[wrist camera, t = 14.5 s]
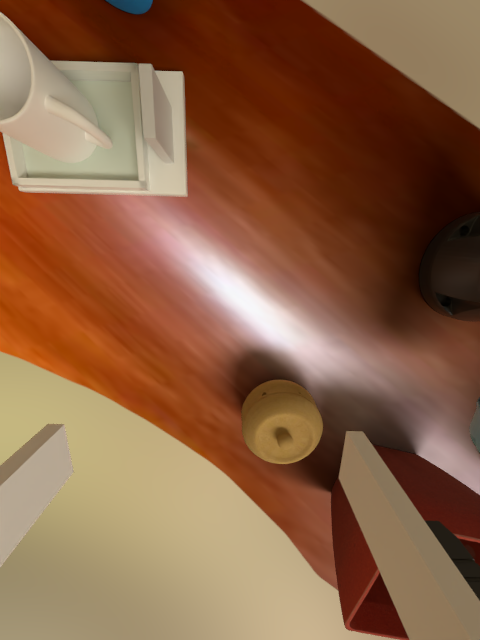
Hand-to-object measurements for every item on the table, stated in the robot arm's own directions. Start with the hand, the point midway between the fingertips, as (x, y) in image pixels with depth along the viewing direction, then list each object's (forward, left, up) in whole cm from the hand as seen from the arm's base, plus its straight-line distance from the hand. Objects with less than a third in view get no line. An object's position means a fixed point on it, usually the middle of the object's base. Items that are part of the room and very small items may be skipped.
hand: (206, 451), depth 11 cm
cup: (+19, -23, -26) cm, 39 cm away
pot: (-8, +15, -27) cm, 32 cm away
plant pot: (-27, +30, -27) cm, 49 cm away
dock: (+17, -23, -27) cm, 39 cm away
